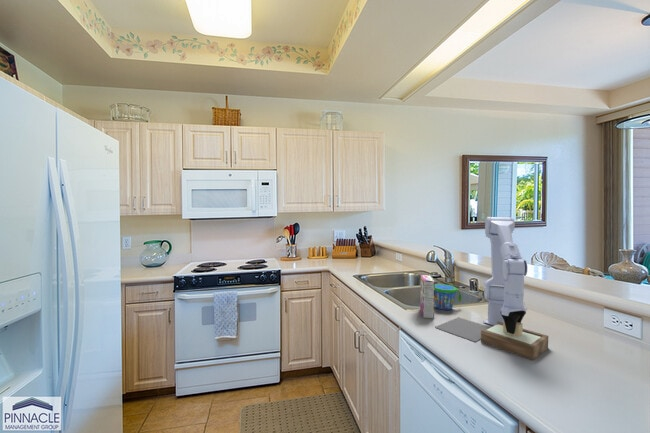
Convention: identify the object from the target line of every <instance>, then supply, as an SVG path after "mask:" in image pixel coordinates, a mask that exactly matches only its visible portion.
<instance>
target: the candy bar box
mask: <svg viewBox="0 0 650 433" xmlns="http://www.w3.org/2000/svg"><path fill="white" fill-rule="evenodd" d="M435 282H436V281H435V280H434V278H433V276H432V275H429V274H428V275H426V274H421V275H420V292H419V293H420V306H419V307H420V312H421V315H422V318H424V319H435V299H434V286H435V285H436V284H435Z"/></svg>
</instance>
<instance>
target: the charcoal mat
mask: <svg viewBox="0 0 650 433" xmlns="http://www.w3.org/2000/svg"><path fill="white" fill-rule="evenodd" d="M491 327H492V326H488V325H486V324H485V325H484V324H481V323H478V322H475V321H471V320H468V319H465V318H461V317H459V316H458V317H456V318H453V319H451V320H449V321H447V322H444V323H441V324H438V325H436V326H434V328H435V329H438V330H439V331H440V330H441V331H443V332H445V333H449V334H451V335H453V336H457V337H459V338H461V339H465V340H468V341H470V342H473V343H477V342H478V341H481V330H483V329H484V330H487V329H489V328H491Z"/></svg>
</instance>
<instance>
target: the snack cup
mask: <svg viewBox="0 0 650 433" xmlns="http://www.w3.org/2000/svg"><path fill="white" fill-rule="evenodd" d="M457 292H458V294H459V295H458V302H461V301H462V298H463V297H462V293H461V291H460V289H458V288H457V287H455V286H453V285H450V284H449V285H448V284H442V283H438V284H435V286H434V307H435V308H437V309H438V310H439V309H440V310H444V311H448V310H449V311H451V310H452V309H453V307H454V301H455V296H456V293H457Z"/></svg>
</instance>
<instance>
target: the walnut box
mask: <svg viewBox="0 0 650 433" xmlns="http://www.w3.org/2000/svg"><path fill="white" fill-rule="evenodd" d="M497 324H499V325H502V326H503V323H502V322H499V321H498V322H497ZM522 331H523V332H526V333H529V334H533V335H536V336H540V338H539V339H538V340H536V341H535V342H533V343H532V344H528V343H525V342H522V341H519V340H516V339H513V338H509V337H506V336H503V335H500V334H497V333H494V332H491V331H488V330H484V329H483V330H481V340H480V342H481V343H482V344H486V345H488V346H491V347H494V348H497V349H500V350H503V351H506V352H508V353H511V354H514V355H517V356H519V357H523V358H525V359H528V360H531V361H534V360H535V359H536V358H538V357H539V356H540V355H541V354H543V353H544V352H545V351H546V350H547V349H549V335H547V334H544V333H541V332H536V331H533V330H529V329H526V328H523V329H522Z"/></svg>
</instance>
